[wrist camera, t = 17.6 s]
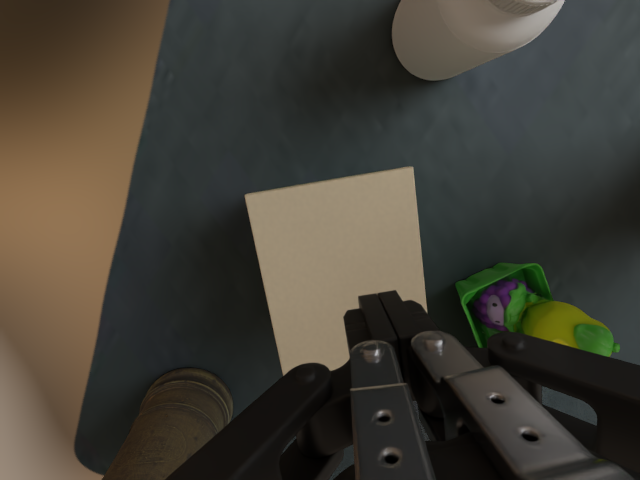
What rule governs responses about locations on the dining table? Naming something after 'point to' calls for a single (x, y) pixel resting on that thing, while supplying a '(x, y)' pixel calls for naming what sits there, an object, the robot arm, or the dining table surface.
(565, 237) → the dining table surface
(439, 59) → the pill bottle
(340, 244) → the lid
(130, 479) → the container
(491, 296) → the fruit basket
